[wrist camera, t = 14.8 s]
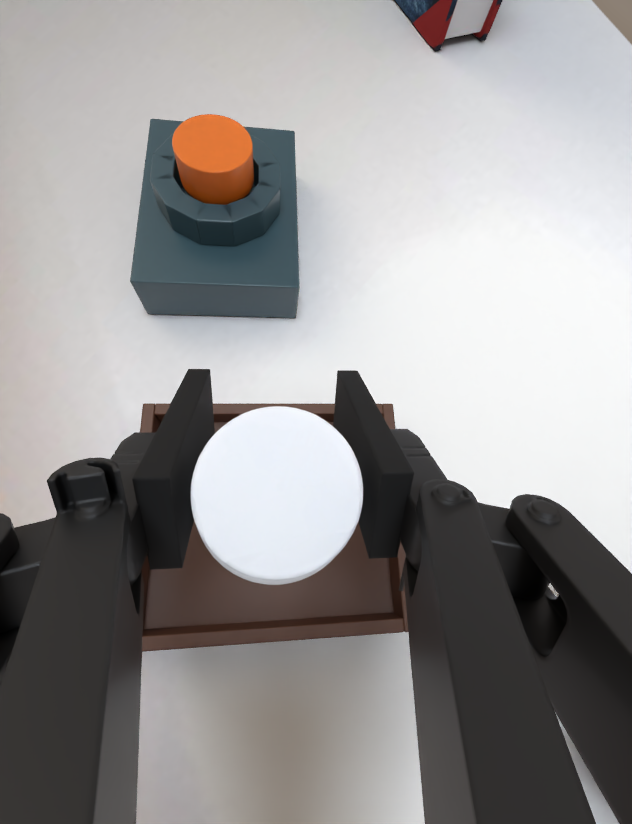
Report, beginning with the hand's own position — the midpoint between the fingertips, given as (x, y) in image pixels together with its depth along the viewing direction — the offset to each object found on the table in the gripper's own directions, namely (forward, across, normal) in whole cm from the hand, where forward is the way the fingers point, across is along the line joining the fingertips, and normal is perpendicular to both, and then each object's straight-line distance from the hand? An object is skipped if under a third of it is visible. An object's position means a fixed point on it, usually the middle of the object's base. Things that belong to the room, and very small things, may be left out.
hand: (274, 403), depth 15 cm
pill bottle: (0, 0, -5) cm, 5 cm away
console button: (+12, -3, +8) cm, 15 cm away
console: (+15, -3, +5) cm, 16 cm away
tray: (+3, 0, -8) cm, 8 cm away
